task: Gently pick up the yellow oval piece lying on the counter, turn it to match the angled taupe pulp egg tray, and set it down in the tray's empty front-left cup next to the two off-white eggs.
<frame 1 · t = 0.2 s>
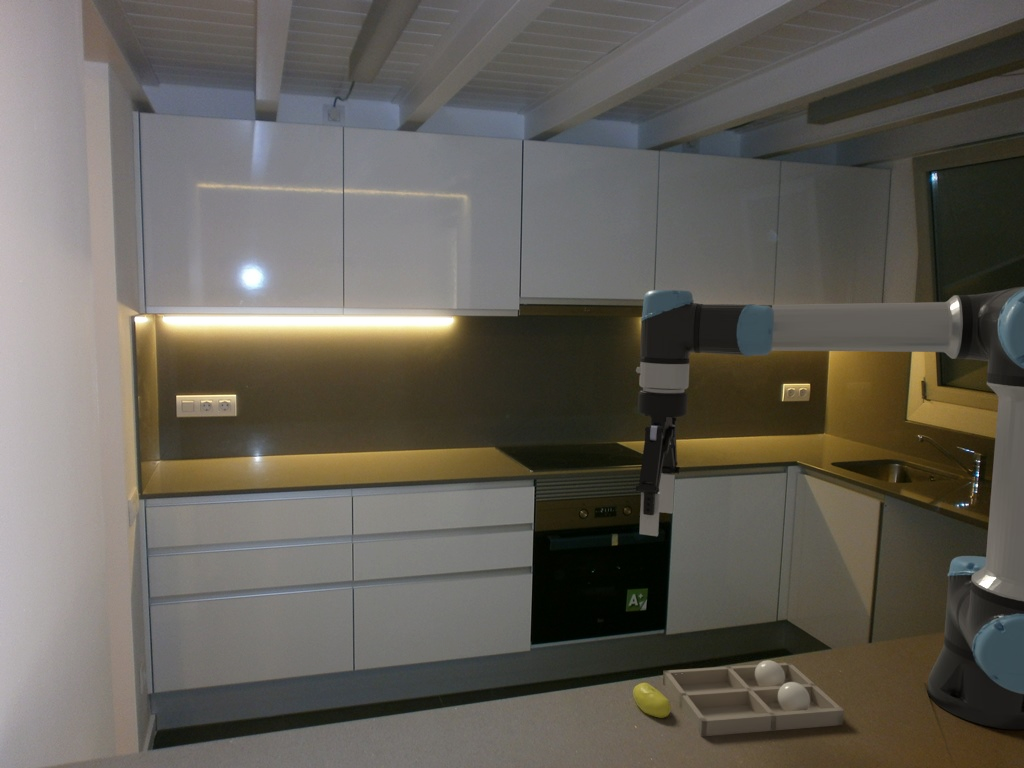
hand: (656, 523, 119), 27 cm above the countertop, fingers open, 13 cm apart
egg back left: (792, 712, 113), point 1 cm above the countertop, touching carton
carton: (748, 706, 116), on the countertop
egg back right: (769, 689, 120), point 1 cm above the countertop, touching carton
yellow oval piece: (650, 713, 114), on the countertop
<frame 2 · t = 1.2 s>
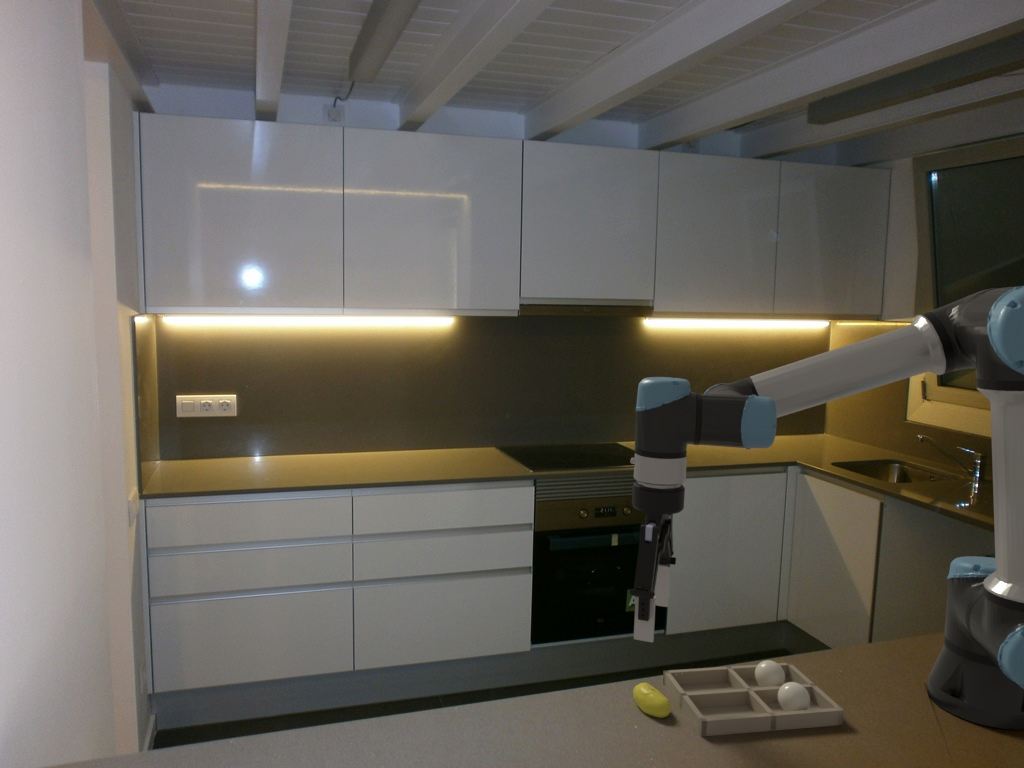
hand: (652, 621, 113), 14 cm above the countertop, fingers open, 13 cm apart
nothing on the countertop moved.
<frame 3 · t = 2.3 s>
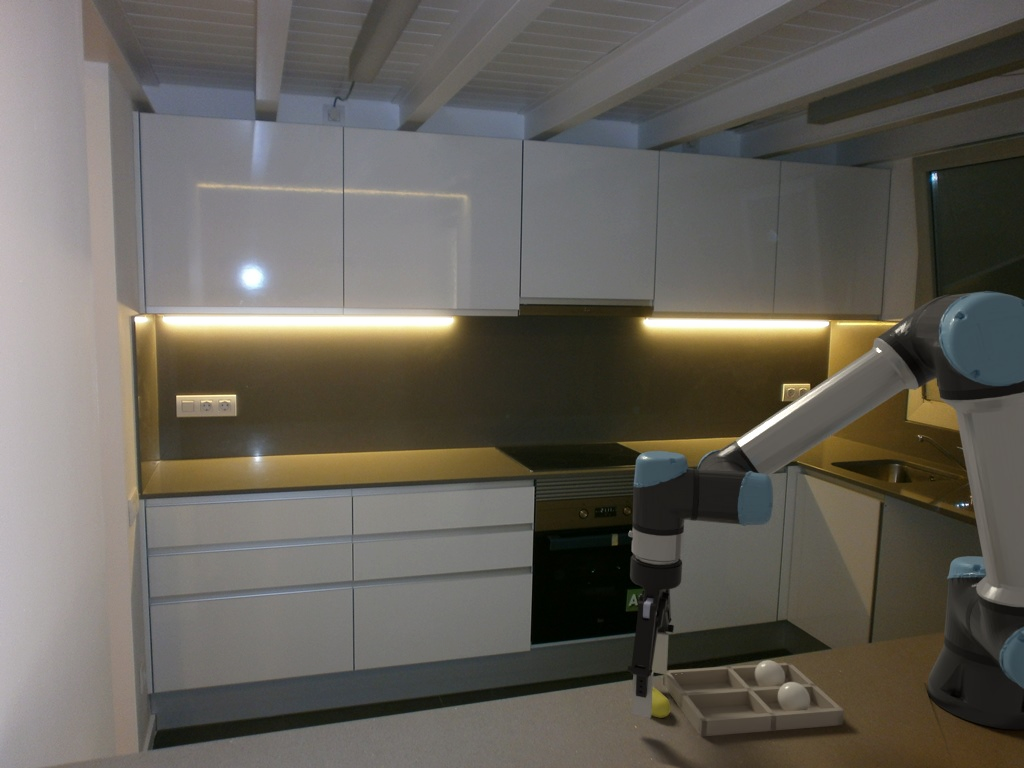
hand: (650, 692, 114), 3 cm above the countertop, fingers open, 13 cm apart
nothing on the countertop moved.
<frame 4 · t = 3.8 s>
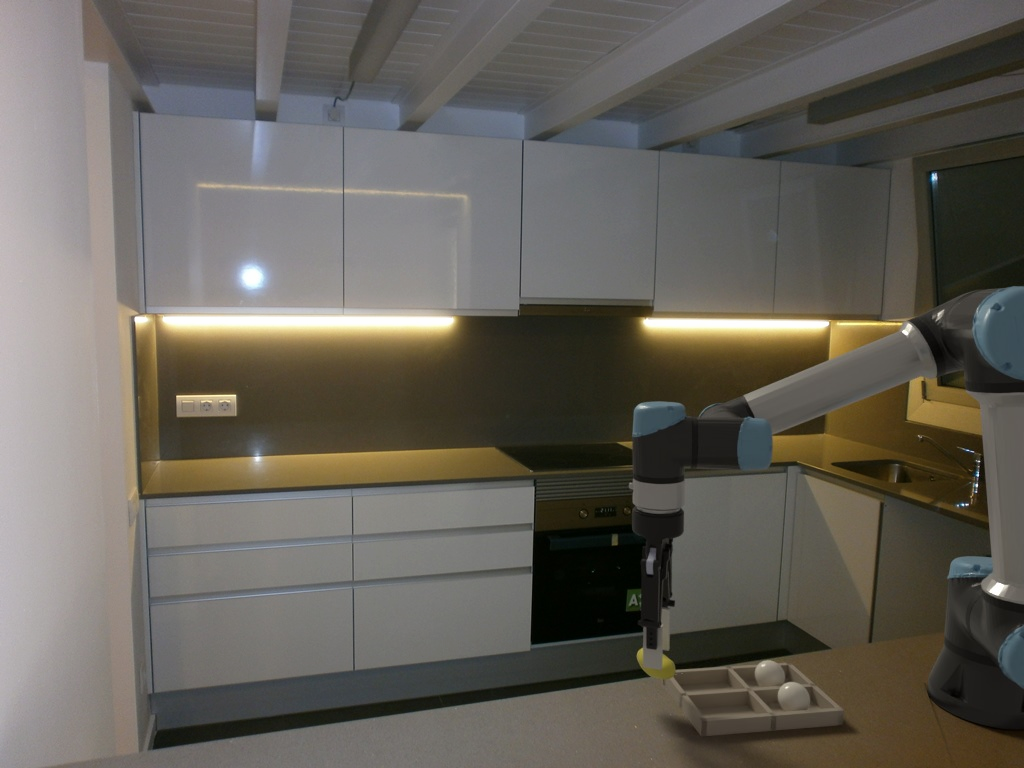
hand: (656, 657, 113), 9 cm above the countertop, fingers closed on yellow oval piece, 6 cm apart
yellow oval piece: (655, 676, 113), point 6 cm above the countertop, touching gripper
everything else where it was.
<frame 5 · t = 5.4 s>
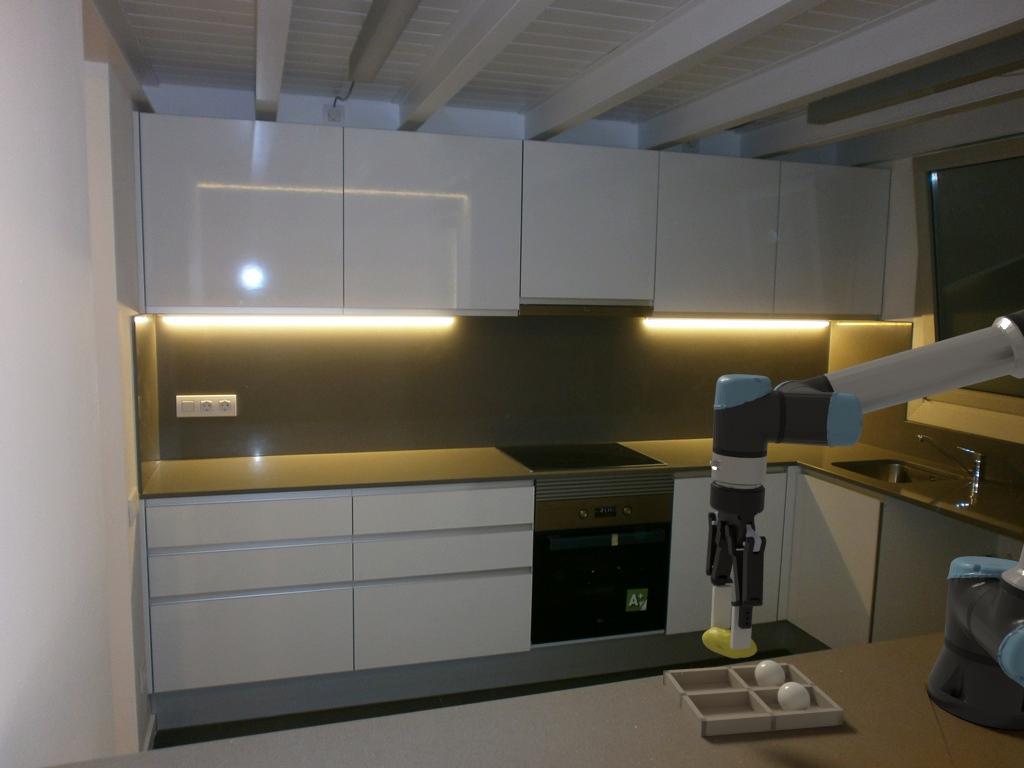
hand: (729, 637, 110), 13 cm above the countertop, fingers closed on yellow oval piece, 6 cm apart
yellow oval piece: (728, 656, 110), point 10 cm above the countertop, touching gripper
everything else where it was.
when the fingers open (4 cm above the countertop, at t = 7.3 s): yellow oval piece stays where it is, resting on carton.
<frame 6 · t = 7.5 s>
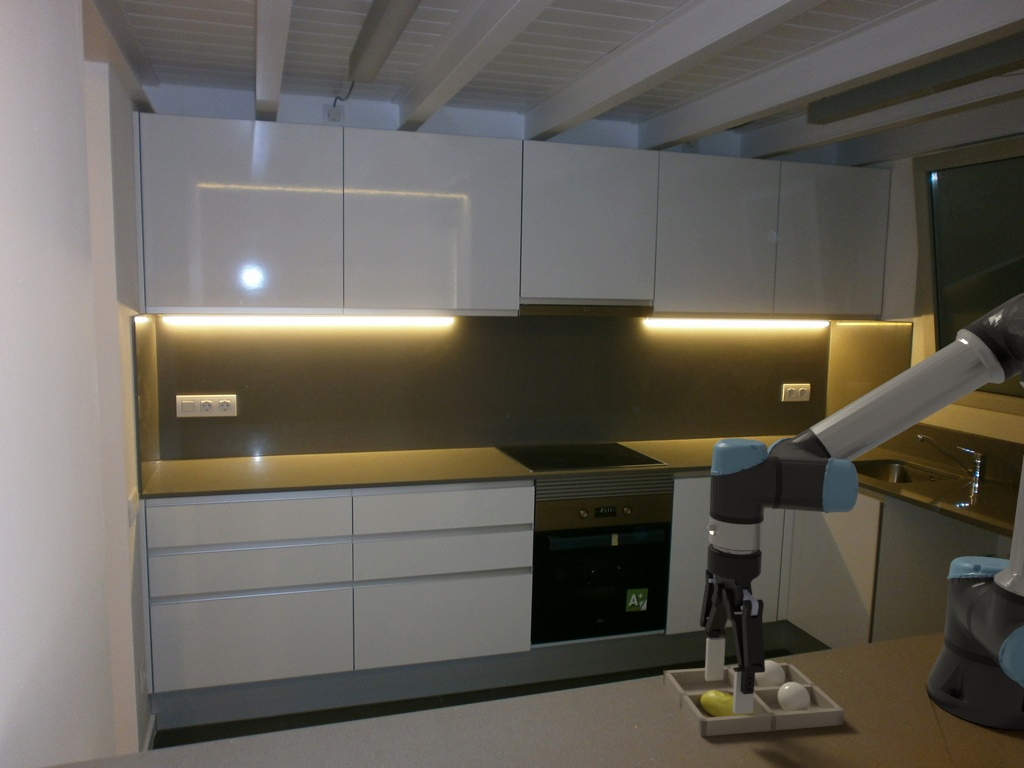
hand: (727, 694, 111), 4 cm above the countertop, fingers open, 9 cm apart
yellow oval piece: (726, 719, 111), resting on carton
everything else where it was.
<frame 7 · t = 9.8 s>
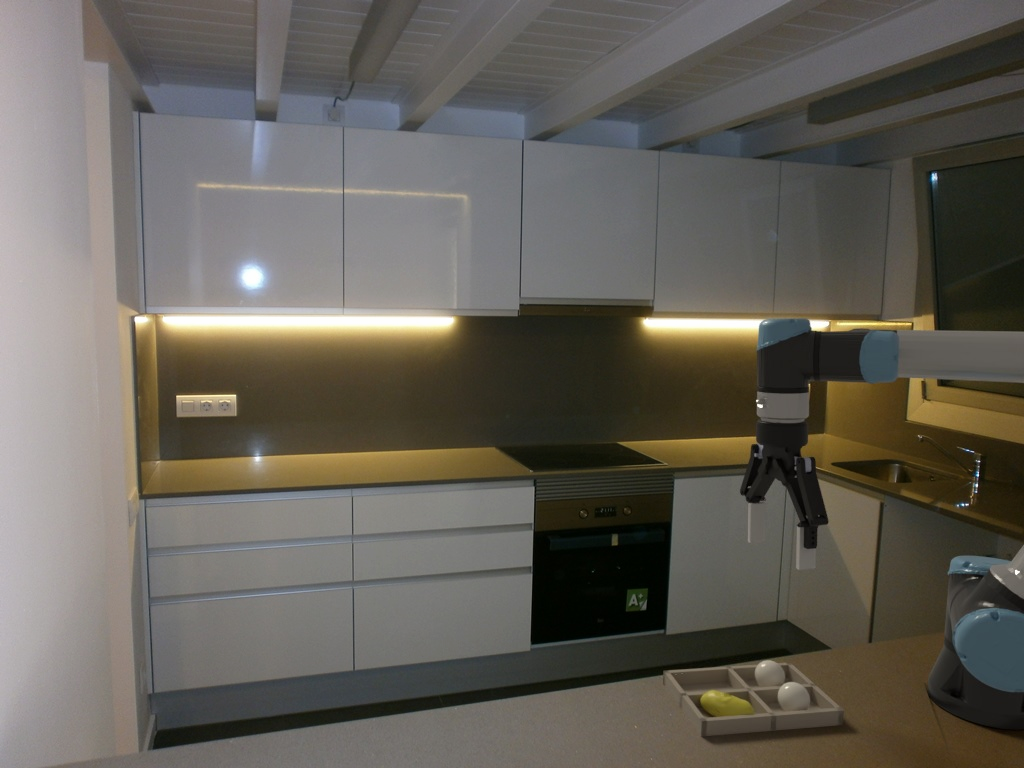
hand: (779, 554, 117), 23 cm above the countertop, fingers open, 13 cm apart
nothing on the countertop moved.
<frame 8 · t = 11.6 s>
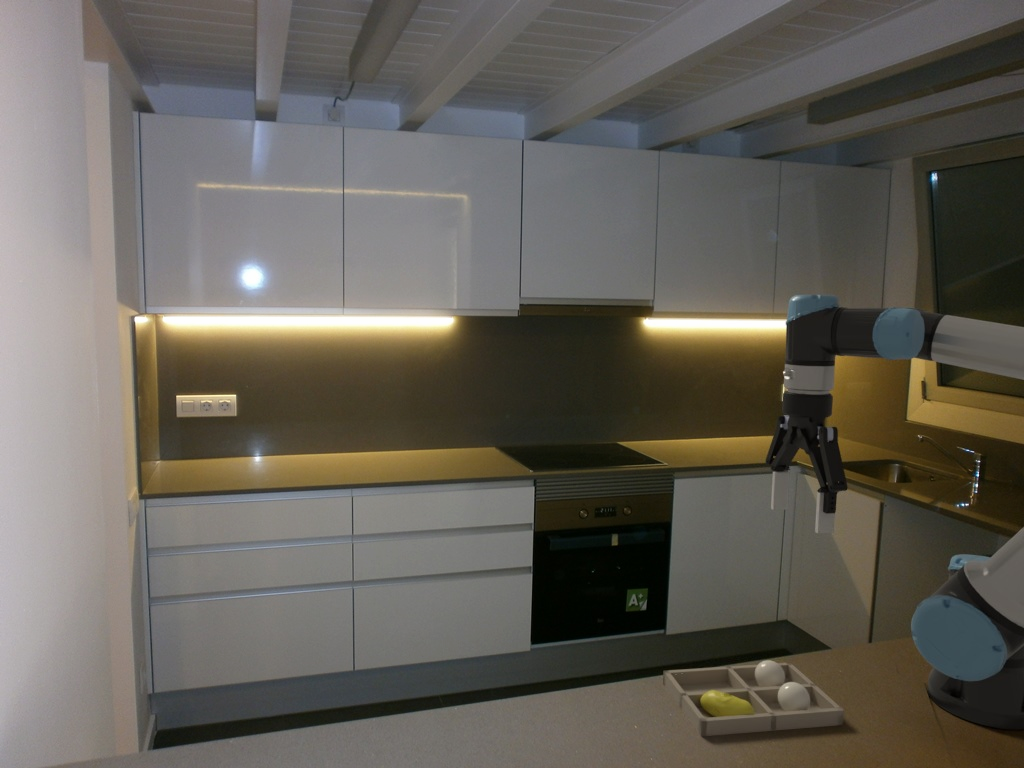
hand: (800, 520, 123), 27 cm above the countertop, fingers open, 13 cm apart
nothing on the countertop moved.
at the end: yellow oval piece inside the target area (0.2 cm from its centre), resting on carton; the gripper is holding nothing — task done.
